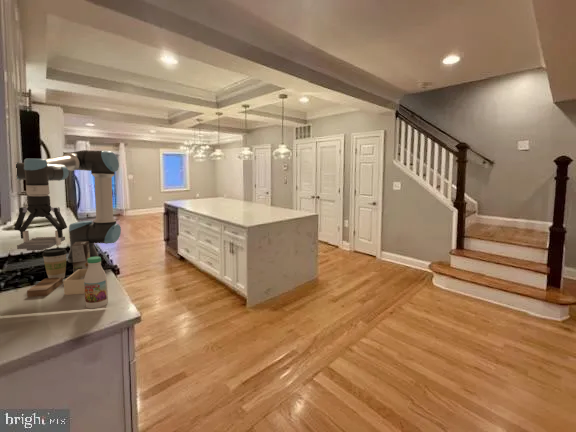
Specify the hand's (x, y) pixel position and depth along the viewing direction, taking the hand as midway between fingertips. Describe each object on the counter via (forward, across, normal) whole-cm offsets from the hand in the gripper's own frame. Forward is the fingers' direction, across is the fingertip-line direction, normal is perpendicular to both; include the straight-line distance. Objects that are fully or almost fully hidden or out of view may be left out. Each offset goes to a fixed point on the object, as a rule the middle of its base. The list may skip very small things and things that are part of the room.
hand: (43, 245), depth 132 cm
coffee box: (+21, +6, +24) cm, 32 cm away
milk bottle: (+21, +26, -20) cm, 39 cm away
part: (+20, +14, +4) cm, 25 cm away
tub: (+21, +14, 0) cm, 25 cm away
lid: (-1, 0, 0) cm, 1 cm away
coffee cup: (+21, -2, +15) cm, 26 cm away
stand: (+21, 0, 0) cm, 21 cm away
